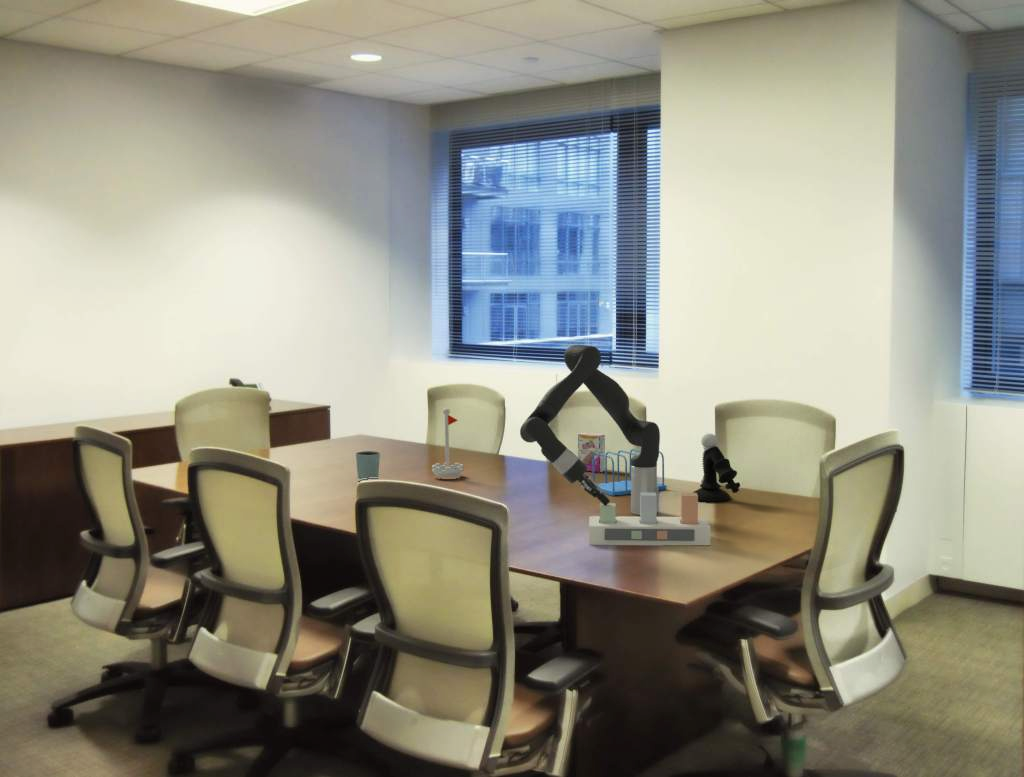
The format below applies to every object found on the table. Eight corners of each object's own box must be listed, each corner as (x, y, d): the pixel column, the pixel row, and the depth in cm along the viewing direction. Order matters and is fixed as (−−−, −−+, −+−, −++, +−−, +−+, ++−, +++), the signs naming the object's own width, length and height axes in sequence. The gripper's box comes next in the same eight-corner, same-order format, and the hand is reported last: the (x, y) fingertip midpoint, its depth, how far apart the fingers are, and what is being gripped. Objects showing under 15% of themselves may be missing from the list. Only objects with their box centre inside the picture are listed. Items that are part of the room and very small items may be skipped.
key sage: (600, 537, 333) (599, 506, 332) (600, 533, 338) (600, 503, 337) (615, 537, 333) (615, 506, 332) (615, 533, 338) (615, 503, 337)
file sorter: (643, 483, 429) (643, 446, 427) (666, 490, 413) (667, 452, 411) (590, 488, 418) (590, 451, 417) (612, 496, 403) (612, 457, 401)
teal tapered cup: (353, 479, 443) (352, 452, 441) (376, 477, 447) (375, 450, 446) (360, 483, 434) (359, 455, 432) (383, 481, 438) (383, 453, 437)
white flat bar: (588, 545, 329) (588, 526, 328) (589, 534, 343) (589, 516, 343) (710, 546, 325) (710, 527, 325) (705, 535, 340) (706, 517, 339)
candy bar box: (577, 470, 457) (577, 433, 455) (582, 469, 461) (582, 432, 460) (600, 473, 451) (600, 435, 449) (605, 471, 455) (605, 434, 454)
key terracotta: (681, 526, 331) (682, 495, 330) (680, 523, 336) (680, 492, 335) (697, 526, 330) (697, 495, 329) (696, 523, 335) (696, 492, 334)
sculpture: (714, 493, 406) (714, 430, 403) (753, 504, 385) (754, 437, 382) (682, 497, 399) (682, 433, 396) (720, 509, 378) (721, 441, 375)
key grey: (640, 526, 332) (640, 495, 331) (640, 522, 337) (640, 492, 336) (656, 526, 331) (656, 495, 330) (655, 522, 336) (655, 492, 335)
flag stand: (427, 479, 441) (426, 409, 438) (438, 474, 454) (437, 405, 451) (456, 480, 438) (455, 410, 435) (467, 475, 450) (465, 406, 447)
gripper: (577, 460, 327) (616, 499, 327) (578, 454, 340) (615, 491, 341) (560, 477, 328) (599, 515, 328) (562, 469, 341) (599, 506, 342)
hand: (607, 503), depth 335 cm, fingers closed
